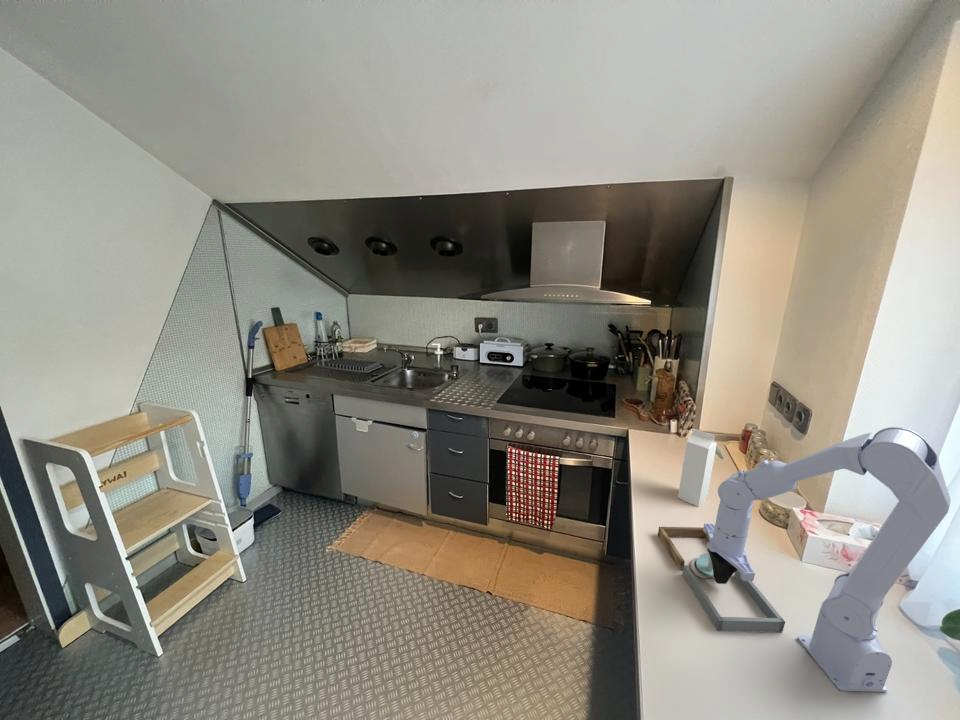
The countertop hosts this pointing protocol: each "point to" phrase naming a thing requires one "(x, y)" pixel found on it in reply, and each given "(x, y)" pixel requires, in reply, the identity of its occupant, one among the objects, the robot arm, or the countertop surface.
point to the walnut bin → (679, 532)
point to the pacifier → (703, 566)
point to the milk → (697, 467)
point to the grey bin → (738, 623)
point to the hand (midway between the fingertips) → (720, 581)
